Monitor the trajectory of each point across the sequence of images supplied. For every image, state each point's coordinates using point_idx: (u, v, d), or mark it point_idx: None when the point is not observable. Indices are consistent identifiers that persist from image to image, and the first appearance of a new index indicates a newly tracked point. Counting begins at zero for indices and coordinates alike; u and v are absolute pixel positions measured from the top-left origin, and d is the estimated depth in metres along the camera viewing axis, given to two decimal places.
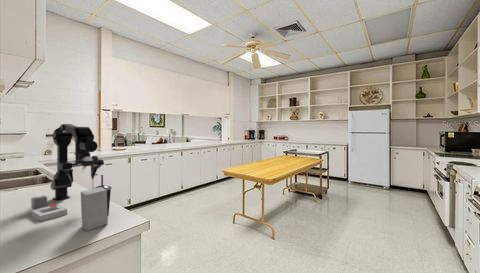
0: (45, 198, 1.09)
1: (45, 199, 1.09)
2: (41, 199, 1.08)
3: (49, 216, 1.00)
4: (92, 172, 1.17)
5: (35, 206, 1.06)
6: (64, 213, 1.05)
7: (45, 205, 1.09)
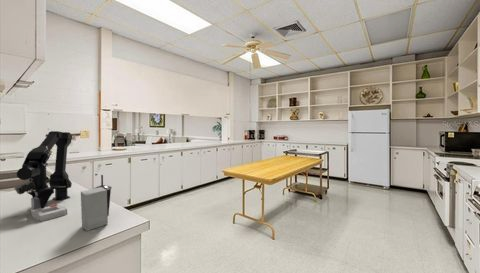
0: None
1: None
2: None
3: (49, 216, 1.00)
4: None
5: (35, 206, 1.06)
6: (64, 213, 1.05)
7: (45, 205, 1.09)
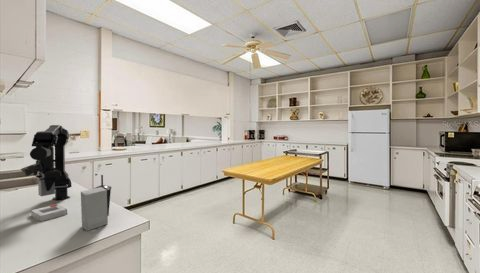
0: None
1: None
2: None
3: (49, 216, 1.00)
4: None
5: (42, 188, 1.02)
6: (64, 213, 1.05)
7: (52, 188, 1.05)
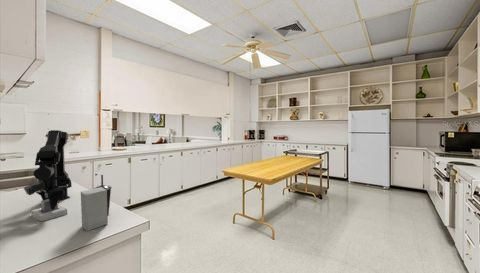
0: None
1: None
2: None
3: (49, 216, 1.00)
4: None
5: (45, 209, 1.02)
6: (64, 213, 1.05)
7: (55, 208, 1.05)
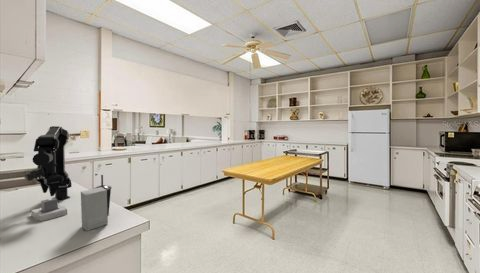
0: (55, 201, 1.05)
1: (55, 202, 1.05)
2: (51, 202, 1.04)
3: (49, 216, 1.00)
4: None
5: (45, 209, 1.02)
6: (64, 213, 1.05)
7: (55, 208, 1.05)
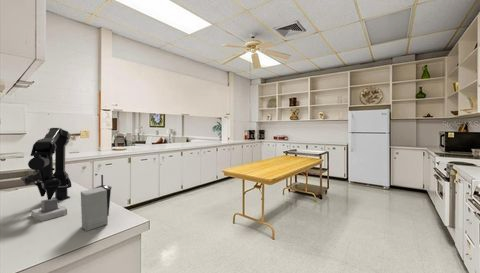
0: (55, 201, 1.05)
1: (55, 202, 1.05)
2: (51, 202, 1.04)
3: (49, 216, 1.00)
4: None
5: (45, 209, 1.02)
6: (64, 213, 1.05)
7: (55, 208, 1.05)
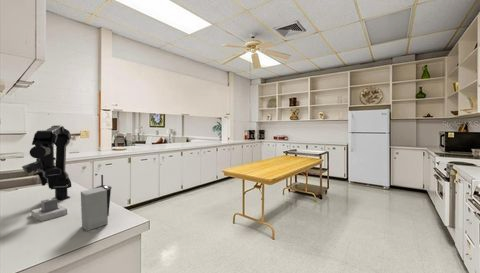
0: (55, 201, 1.05)
1: (55, 202, 1.05)
2: (51, 202, 1.04)
3: (49, 216, 1.00)
4: None
5: (45, 209, 1.02)
6: (64, 213, 1.05)
7: (55, 208, 1.05)
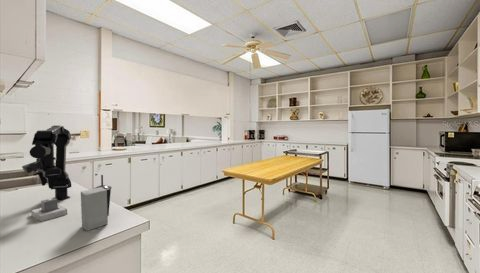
0: (55, 201, 1.05)
1: (55, 202, 1.05)
2: (51, 202, 1.04)
3: (49, 216, 1.00)
4: None
5: (45, 209, 1.02)
6: (64, 213, 1.05)
7: (55, 208, 1.05)
